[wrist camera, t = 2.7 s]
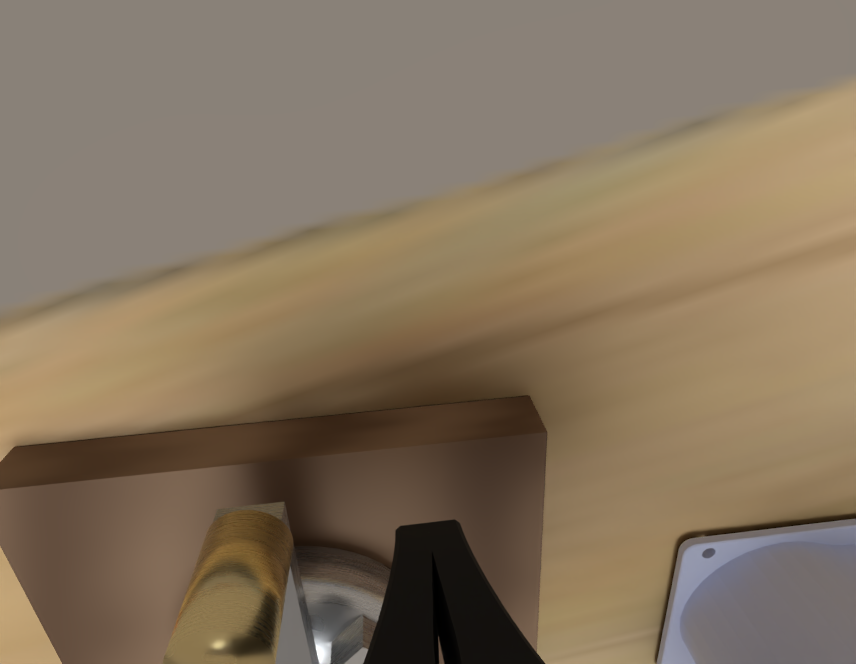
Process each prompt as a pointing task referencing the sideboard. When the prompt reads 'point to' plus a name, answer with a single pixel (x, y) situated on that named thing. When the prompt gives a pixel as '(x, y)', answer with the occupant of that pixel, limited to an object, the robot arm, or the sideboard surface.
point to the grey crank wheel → (275, 596)
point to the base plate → (261, 484)
